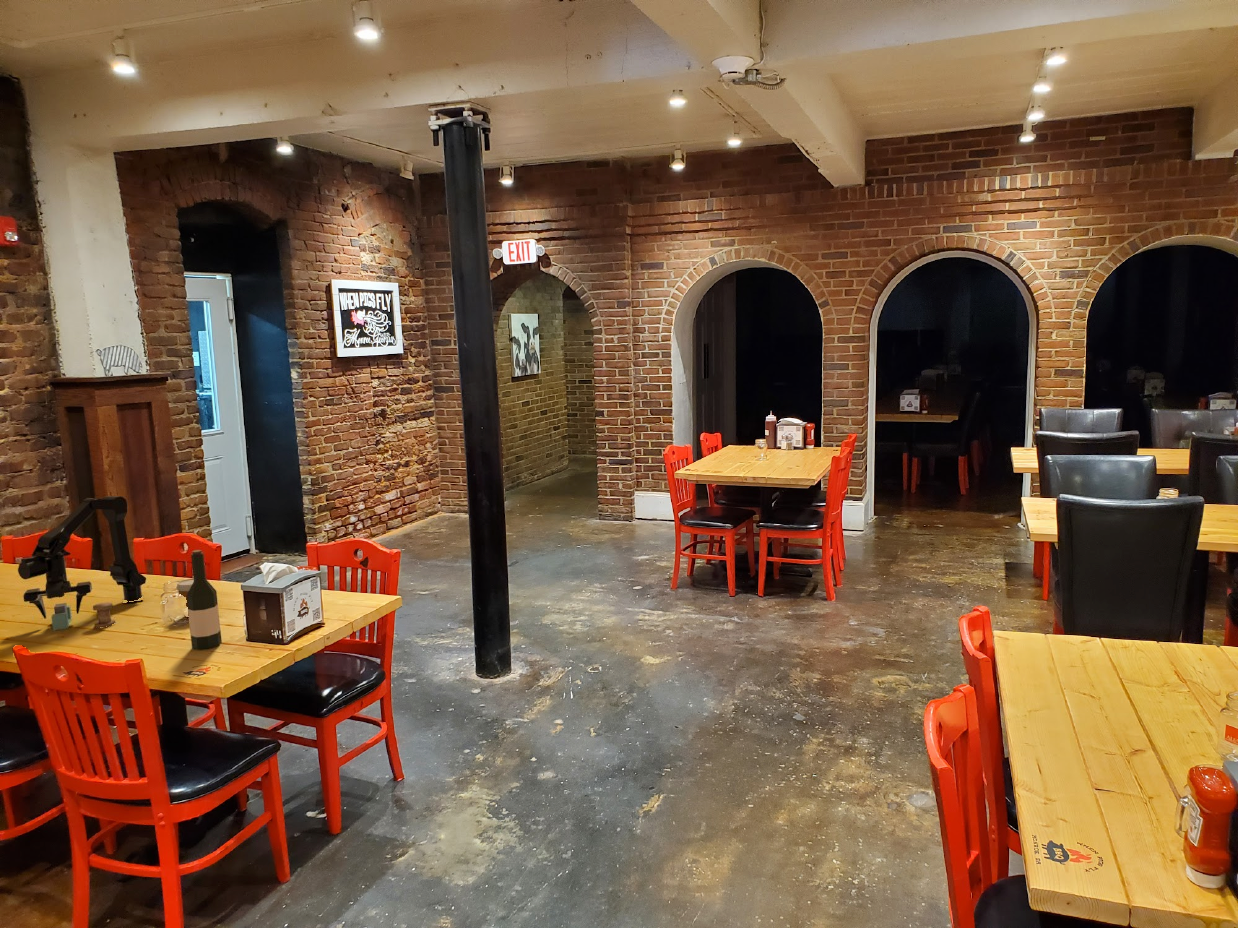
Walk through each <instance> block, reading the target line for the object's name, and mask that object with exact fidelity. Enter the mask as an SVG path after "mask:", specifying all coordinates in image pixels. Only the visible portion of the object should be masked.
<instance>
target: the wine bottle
mask: <svg viewBox="0 0 1238 928" xmlns="http://www.w3.org/2000/svg"><path fill="white" fill-rule="evenodd" d="M191 552H192V553H191V555H190V558H191V567H192V576H193V577H192V578H194V582H193V584H192V586H191V588H190V590H189V592H188V594H187V596H186V598H187V607H188V616H189V618H188V622H189V623H188V626H189V631H190V632H189V633H190V642H191V648H192V649H193V650H196V651H205V650H211V649H214V648H217V647H219V646H221V644H222V643H223V640H222V631H221V623H220V614H219V604H218V595H217V590H216V588H214V586H213V585H212V584H211V583H210V582H209V580H208V579H207V574H206V566H205V556H204V555H205V554H204V552H202V550H201V549H195V550H193V551H191Z"/></svg>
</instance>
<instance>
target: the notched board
mask: <svg viewBox="0 0 1238 928" xmlns="http://www.w3.org/2000/svg"><path fill="white" fill-rule="evenodd" d="M67 612H68V618H67ZM67 612H66V613H59V614H55V613H53V614H51V625H52V631H53V632H54V631H59V630H58V629H61V630H67V629H68V628H69V626H70V624H69V623H71V622H70V621H72V619H73V616H72V609H71V605H70V604H67ZM71 618H72V619H71ZM68 619H69V620H68ZM66 628H67V629H66Z"/></svg>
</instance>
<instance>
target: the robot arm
mask: <svg viewBox="0 0 1238 928" xmlns="http://www.w3.org/2000/svg"><path fill="white" fill-rule="evenodd" d="M97 510H101V513H102V516H103V517H104V518H105V519H106V520H107V521H108V522H107V523H108V527H109V533H110V538H111V544H112V550H113V556H114V561H113V563H112V564H110V565H108V568H109V571H110V572H109V576H110V577H111V578H112V580H113V581H115V582H116V584H117V586H122V592H123V599H124V600H127V601H128V602H129V601H134V600H138V599H139V598H141V597H142V596H143V592H142V585H144V584H145V585H146V583H147V582H146V581H147V577H146V576H144V575H143V574H142V573H140V572H139V570H138V567H137V564H136V562H135V561H134V560H133V559H132V558H131V551H130V546H129V541H128V535H127V529H126V524H125V518H126V516H127V513H128V501H127V499H126V498H125V497H124V496H117V495H115V496H114V495H105V496H104V497H102V498H92V497H87V498H85V499H83V500H82V501H81V503H80V504H79V506H77V507H76V508H75V509H74V510H73V511H72V512H71V513H70V514H69V515H68V516H67V517H66V518H65V519H64V520H63V521H62V522H61V523H60V524H59V525H58V526H56V527H54V528H52V529H49V530H48V531H46V532H45V533H43V534H42V535H40V537H39V538H38V540H37V544H36V546H35V548H34V550H33V552H32V554H31V556H29V557H24V558H20V563H19V564H18V566H17V567H18V568H17V573H18V575H19V576H20V578H21V579H23V580H30V579H33V578H37V577H40V576H44V575H45V579H46V581H45V589H43V590H41V589H40V588H39V587H38V588H31V589H26V591H25V592H24V593H23V602H25V603H27V602H28V603H29V604H34V605H35V607H36V608H37V609H38V611H39V612H40V613H41V615H42V617H43V619H44V620H45V619H47V612H46V607H45V604H44V599H43V597H46V599H48V600H50V599H51V600H52V599H54V598H62V597H64V596H65V594H70V593H75V592H76V595H75V598H76V604H75V607H76V608H75V609H76V610H75V611H76V614H78V615H79V613H80V608H81V604H82V600H83V598H84V597H85V596H87V595H88V594H90V593H91V592H92V590H93V586H92V582H91V581H82V582H77V583H76V585H75V586H74V585H73V586H72V585H71V582H70V580H68V576H67V569H66V568H67V567H66V561H65V557H67V556H70V555H71V552H69V551H67V550H66V549H65V548H66V546H67V545H69V543H70V540H71V537H72V535H73V534H74V532H75V531H76V530H78V529H79V527H81V526H82V524H84V522H85V521H86V520H87V519H89V518H90V516H92V514H93V513H95V511H97Z"/></svg>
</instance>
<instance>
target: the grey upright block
mask: <svg viewBox="0 0 1238 928" xmlns="http://www.w3.org/2000/svg"><path fill="white" fill-rule="evenodd" d="M67 605H68V604H67V602H62V603H56V604H55V605H54V606H53V609H54V610H53V611H54V614H59V613H66V612H67ZM67 618H68V612H67ZM68 620H69V619H68Z"/></svg>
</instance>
